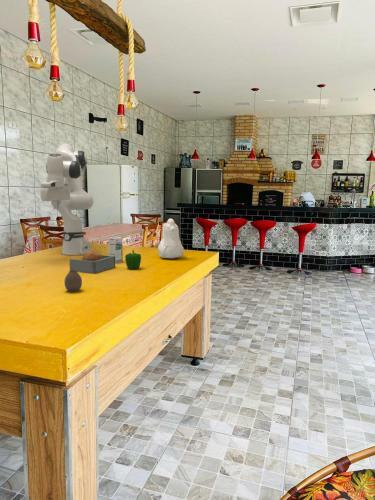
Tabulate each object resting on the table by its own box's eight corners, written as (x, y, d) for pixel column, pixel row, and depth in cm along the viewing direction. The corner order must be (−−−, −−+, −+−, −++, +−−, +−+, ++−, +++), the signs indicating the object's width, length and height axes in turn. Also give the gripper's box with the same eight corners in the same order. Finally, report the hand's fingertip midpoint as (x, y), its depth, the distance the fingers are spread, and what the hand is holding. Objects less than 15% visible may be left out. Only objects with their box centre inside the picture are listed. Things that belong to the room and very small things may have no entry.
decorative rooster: (184, 260, 231) (185, 219, 227) (158, 260, 230) (158, 219, 226) (181, 254, 256) (182, 216, 252) (157, 253, 254) (158, 216, 251)
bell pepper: (138, 270, 201) (138, 251, 199) (123, 269, 202) (123, 250, 201) (143, 267, 209) (143, 249, 207) (128, 266, 211) (128, 248, 209)
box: (91, 264, 214) (91, 253, 213) (115, 267, 208) (115, 256, 207) (69, 270, 197) (69, 259, 196) (94, 273, 191) (94, 261, 190)
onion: (103, 267, 208) (103, 248, 206) (97, 271, 198) (97, 251, 196) (86, 266, 208) (85, 248, 207) (79, 270, 199) (78, 251, 197)
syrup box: (115, 263, 219) (115, 238, 217) (108, 262, 222) (108, 237, 220) (122, 262, 223) (122, 237, 221) (115, 260, 227) (115, 236, 225)
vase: (75, 287, 164) (75, 267, 162) (85, 290, 159) (85, 269, 158) (61, 290, 158) (60, 269, 157) (71, 293, 154) (70, 272, 153)
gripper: (63, 183, 225) (64, 207, 227) (38, 183, 206) (39, 209, 209) (72, 183, 222) (73, 207, 225) (47, 183, 204) (48, 210, 206)
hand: (56, 208), depth 217 cm, fingers closed
